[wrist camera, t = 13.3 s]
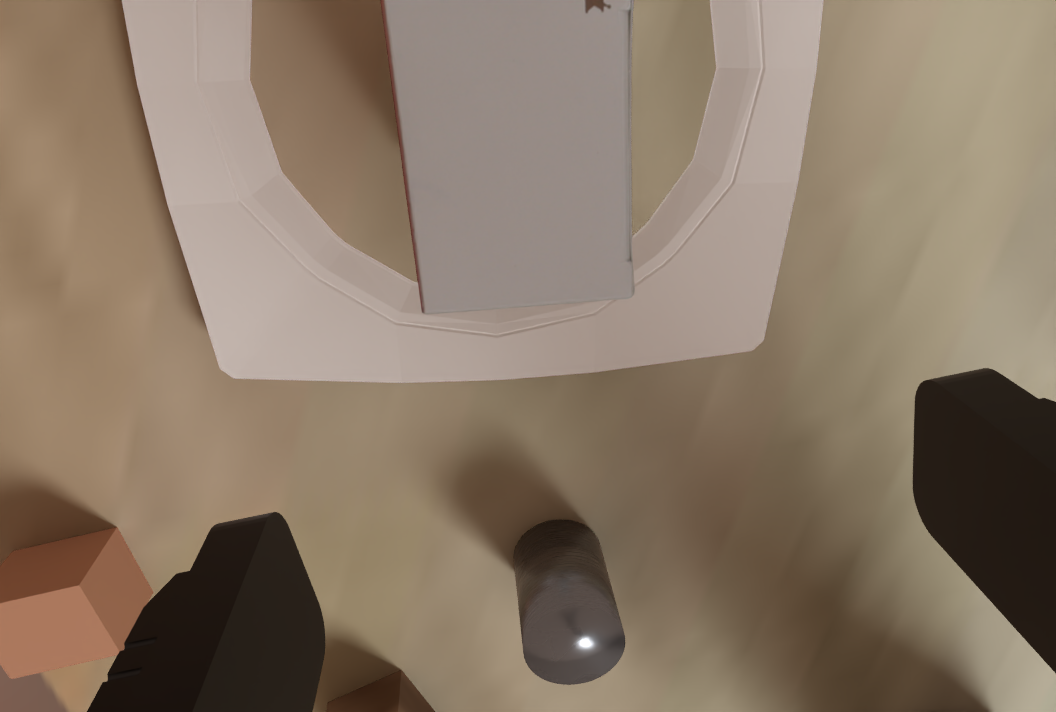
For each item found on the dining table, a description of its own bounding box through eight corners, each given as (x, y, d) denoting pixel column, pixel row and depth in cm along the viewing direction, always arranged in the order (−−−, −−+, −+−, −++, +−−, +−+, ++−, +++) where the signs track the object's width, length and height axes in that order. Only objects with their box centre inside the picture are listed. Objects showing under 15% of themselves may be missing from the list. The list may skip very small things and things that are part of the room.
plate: (762, 347, 35) (784, 372, 33) (217, 376, 33) (198, 405, 31) (844, -336, 25) (887, -373, 23) (66, -346, 23) (22, -387, 21)
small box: (403, -23, 25) (371, -37, 16) (571, -32, 26) (639, -53, 16) (429, 215, 29) (416, 321, 19) (577, 204, 29) (637, 303, 19)
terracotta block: (118, 525, 35) (79, 585, 32) (154, 590, 37) (120, 654, 33) (13, 549, 35) (-37, 611, 32) (54, 613, 37) (10, 679, 33)
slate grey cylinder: (593, 511, 37) (617, 597, 32) (607, 579, 39) (631, 672, 34) (505, 530, 37) (514, 619, 32) (523, 597, 39) (534, 693, 34)
